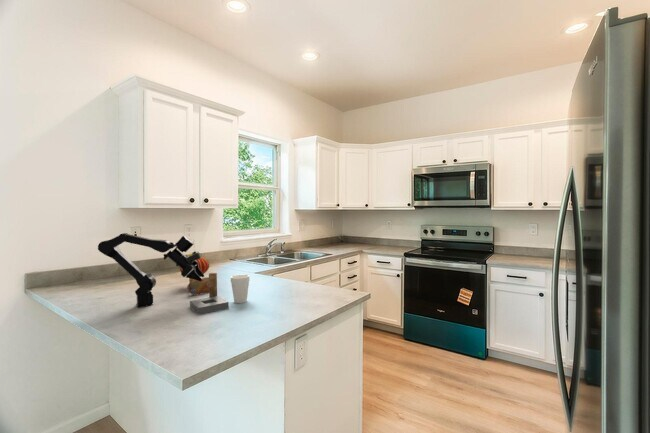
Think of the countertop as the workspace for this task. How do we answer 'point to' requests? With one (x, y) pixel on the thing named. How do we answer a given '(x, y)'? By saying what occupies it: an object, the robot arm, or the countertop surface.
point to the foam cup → (240, 287)
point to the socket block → (209, 304)
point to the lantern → (200, 265)
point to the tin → (199, 286)
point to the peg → (212, 284)
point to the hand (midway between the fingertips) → (202, 278)
